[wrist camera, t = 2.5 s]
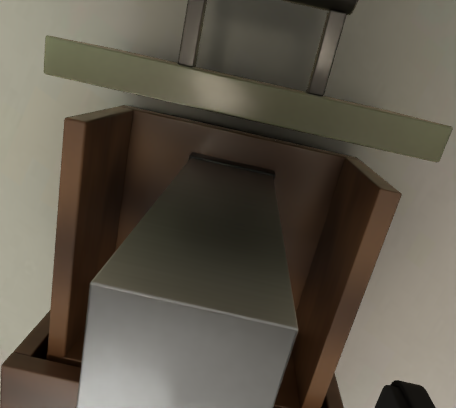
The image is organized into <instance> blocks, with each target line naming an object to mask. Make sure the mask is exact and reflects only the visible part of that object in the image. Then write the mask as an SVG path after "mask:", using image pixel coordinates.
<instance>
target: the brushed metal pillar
mask: <svg viewBox="0 0 456 408" xmlns="http://www.w3.org/2000/svg"><path fill="white" fill-rule="evenodd" d="M275 176H276V175H275V171H274V170H269V169H265V168H260V167H256V166H251V165H247V164H243V163H238V162H234V161H229V160H225V159H220V158H216V157H212V156H207V155H203V154H198V153H194V152H192V153H191V154H190V155H189V159H188V162H187V164H186V165H185V166H184V167H183V168H182V170H181V171H180V172H179V173H178V175H177V176H176V177H175V178H174V180H173V181H172V182H171V183H170V185H169V186H168V187H167V188H166V190H165V191H164V192H163V193H162V194H161V196H160V197H159V198H158V199H157V201H156V202H155V203H154V204H153V206H152V207H151V208H150V209H149V211H148V212H147V213H146V214H145V216H144V217H143V218H142V219H141V220H140V222H139V223H138V224H137V225H136V227H135V228H134V229H133V230H132V232H131V233H130V234H129V235H128V237H127V238H126V239H125V240H124V242H123V243H122V244H121V245H120V246H119V248H118V249H117V250H116V251H115V253H114V254H113V255H112V256H111V258H110V259H109V260H108V261H107V263H106V264H105V265H104V266H103V268H102V269H101V270H100V271H99V272H98V274H97V275H96V276H95V277H94V279H93V280H92V281H91V283H90V289H89V298H88V307H87V316H86V325H85V334H84V343H83V352H82V361H81V370H80V380H79V389H78V398H77V407H76V408H273V407H274V403H275V400H276V397H277V394H278V391H279V388H280V385H281V382H282V379H283V376H284V373H285V370H286V367H287V364H288V361H289V357H290V354H291V351H292V348H293V345H294V342H295V339H296V336H297V333H298V325H297V319H296V312H295V306H294V300H293V294H292V288H291V282H290V276H289V270H288V264H287V258H286V252H285V246H284V240H283V234H282V228H281V222H280V216H279V210H278V204H277V198H276V192H275V186H274V179H275Z"/></svg>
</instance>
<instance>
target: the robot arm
mask: <svg viewBox="0 0 456 408" xmlns="http://www.w3.org/2000/svg"><path fill="white" fill-rule="evenodd" d="M375 408H435V406H434V404H433V402H432V400H431V399H430V397H429V395H428V393H427V391H426V390H425V389H424V387H422V386H420V385H416V384H412V383H407V382H403V381H398V380H395V381H394V382H392V384H391V385H386V386H384V388H383V389H382V392H381V394H380V396H379V399H378V401H377V403H376V406H375Z"/></svg>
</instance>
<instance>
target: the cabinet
mask: <svg viewBox="0 0 456 408" xmlns="http://www.w3.org/2000/svg"><path fill="white" fill-rule="evenodd" d="M49 324H50V311H49V312H48V313H47V314H46V316H45V317H44V318H43V319H42V320H41V321H40V322H39V323H38V325H37V326H36V327H35V328H34V329H33V330H32V331H31V332H30V334H29V335H28V336H27V337H26V338H25V339H24V340H23V342H22V343H21V344H20V345H19V346H18V347H17V348H16V349H15V351H14V352H13V353H12V354H11V355H10V356H9V357H8V358H7V359H6V361H5V362H4V363H3V364H2V366H1V400H0V408H76V407H77V398H78V389H79V380H80V370H81V368H80V367H75V366H71V365H66V364H62V363H58V362H53V361H49V360H46V359H47V351H48V337H49ZM321 408H344V407H343V403H342V400H341V396H340V392H339V388H338V384H337V381H336V377H335V373H334V375H333V377H332V380H331V382H330V385H329V388H328V390H327V393H326V396H325V398H324V401H323V404H322V406H321Z"/></svg>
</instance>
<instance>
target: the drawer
mask: <svg viewBox="0 0 456 408" xmlns="http://www.w3.org/2000/svg"><path fill="white" fill-rule="evenodd" d="M282 1H287V2H291V3H296V4H300V5H305V6H309V7H313V8H318V9H322V10H327V11H329V12H328V13H327V17H326V21H325V24H324V28H323V32H322V35H321V39H320V43H319V47H318V50H317V54H316V58H315V61H314V65H313V69H312V73H311V76H310V80H309V84H308V87H307V91H306V92H304V91H300V90H295V89H291V88H287V87H282V86H278V85H273V84H269V83H264V82H260V81H256V80H251V79H247V78H242V77H238V76H233V75H229V74H225V73H220V72H216V71H211V70H207V69H202V68H198V67H196V61H197V56H198V50H199V44H200V39H201V33H202V27H203V21H204V16H205V10H206V4H207V0H188V4H187V10H186V16H185V22H184V29H183V35H182V41H181V47H180V53H179V60H178V63H176V62H171V61H167V60H163V59H158V58H154V57H149V56H145V55H140V54H136V53H132V52H127V51H123V50H118V49H113V48H108V47H103V46H98V45H93V44H88V43H83V42H78V41H73V40H68V39H63V38H58V37H53V36H46V38H45V57H44V73H45V74H48V75H52V76H56V77H61V78H65V79H70V80H74V81H79V82H83V83H87V84H92V85H96V86H101V87H105V88H110V89H114V90H118V91H123V92H127V93H132V94H136V95H141V96H145V97H149V98H154V99H158V100H163V101H167V102H172V103H176V104H180V105H185V106H189V107H194V108H198V109H203V110H207V111H211V112H216V113H220V114H225V115H229V116H234V117H238V118H242V119H247V120H251V121H256V122H260V123H265V124H269V125H273V126H278V127H282V128H287V129H291V130H296V131H300V132H304V133H309V134H313V135H318V136H322V137H327V138H331V139H335V140H340V141H344V142H349V143H353V144H358V145H362V146H366V147H371V148H375V149H380V150H384V151H388V152H393V153H397V154H402V155H406V156H411V157H415V158H419V159H424V160H428V161H433V162H439V161H440V159H441V156H442V154H443V151H444V149H445V146H446V144H447V141H448V139H449V136H450V134H451V131H452V127H451V126H447V125H443V124H439V123H435V122H431V121H427V120H423V119H419V118H415V117H412V116H408V115H404V114H400V113H396V112H392V111H388V110H384V109H379V108H375V107H371V106H366V105H362V104H357V103H353V102H348V101H344V100H340V99H335V98H331V97H326V96H323V95H324V92H325V89H326V85H327V82H328V78H329V75H330V71H331V68H332V64H333V61H334V57H335V54H336V50H337V46H338V43H339V39H340V36H341V32H342V29H343V25H344V22H345V18H346V15H351V14H352V12H353V11H354V9H355V7H356V5H357V2H358V0H282ZM192 152H194V153H198V154H203V155H207V156H212V157H216V158H220V159H225V160H229V161H234V162H238V163H243V164H247V165H251V166H256V167H260V168H265V169H269V170H274V171H275V175H276V176H275V179H274V186H275V192H276V198H277V204H278V210H279V216H280V222H281V228H282V234H283V240H284V246H285V252H286V258H287V264H288V270H289V276H290V282H291V288H292V294H293V300H294V306H295V312H296V319H297V325H298V333H297V336H296V339H295V342H294V345H293V348H292V351H291V354H290V357H289V361H288V364H287V367H286V370H285V373H284V376H283V379H282V382H281V385H280V388H279V391H278V394H277V397H276V400H275V403H274V407H273V408H321V406H322V404H323V401H324V398H325V396H326V393H327V390H328V388H329V385H330V382H331V380H332V377H333V375H334V372H335V369H336V367H337V364H338V361H339V359H340V356H341V353H342V351H343V348H344V345H345V343H346V340H347V338H348V335H349V332H350V330H351V327H352V324H353V322H354V319H355V316H356V314H357V311H358V309H359V306H360V303H361V301H362V298H363V295H364V293H365V290H366V287H367V285H368V282H369V279H370V277H371V274H372V272H373V269H374V266H375V264H376V261H377V258H378V256H379V253H380V250H381V248H382V245H383V242H384V240H385V237H386V235H387V232H388V229H389V227H390V224H391V221H392V219H393V216H394V213H395V211H396V208H397V206H398V203H399V200H400V198H401V195H402V194H401V193H400V192H399V191H398V190H396V189H395V188H394V187H393V186H392V185H390V184H389V183H388V182H387V181H385V180H384V179H383V178H382V177H380V176H379V175H378V174H377V173H375V172H374V171H373V170H372V169H370V168H369V167H368V166H367V165H365V164H364V163H363V162H362V161H360V160H359V159H358V158H356V157H352V156H348V155H343V154H339V153H334V152H330V151H325V150H321V149H317V148H312V147H308V146H303V145H299V144H294V143H290V142H286V141H281V140H277V139H272V138H268V137H263V136H259V135H255V134H250V133H246V132H241V131H237V130H232V129H228V128H224V127H219V126H215V125H210V124H206V123H201V122H197V121H193V120H188V119H184V118H179V117H175V116H170V115H166V114H162V113H157V112H153V111H148V110H144V109H139V108H135V107H131V106H126V105H122V106H118V107H114V108H109V109H104V110H100V111H95V112H90V113H86V114H81V115H76V116H72V117H67V118H65V120H64V133H63V147H62V161H61V174H60V188H59V201H58V215H57V229H56V242H55V256H54V269H53V283H52V297H51V310H50V324H49V337H48V351H47V359H46V360H49V361H53V362H58V363H62V364H66V365H71V366H75V367H80V368H81V361H82V352H83V343H84V334H85V325H86V316H87V307H88V298H89V289H90V283H91V281H92V280H93V279H94V277H95V276H96V275H97V274H98V272H99V271H100V270H101V269H102V268H103V266H104V265H105V264H106V263H107V261H108V260H109V259H110V258H111V256H112V255H113V254H114V253H115V251H116V250H117V249H118V248H119V246H120V245H121V244H122V243H123V242H124V240H125V239H126V238H127V237H128V235H129V234H130V233H131V232H132V230H133V229H134V228H135V227H136V225H137V224H138V223H139V222H140V220H141V219H142V218H143V217H144V216H145V214H146V213H147V212H148V211H149V209H150V208H151V207H152V206H153V204H154V203H155V202H156V201H157V199H158V198H159V197H160V196H161V194H162V193H163V192H164V191H165V190H166V188H167V187H168V186H169V185H170V183H171V182H172V181H173V180H174V178H175V177H176V176H177V175H178V173H179V172H180V171H181V170H182V168H183V167H184V166H185V165H186V164H187V162H188V159H189V155H190V154H191V153H192Z"/></svg>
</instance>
